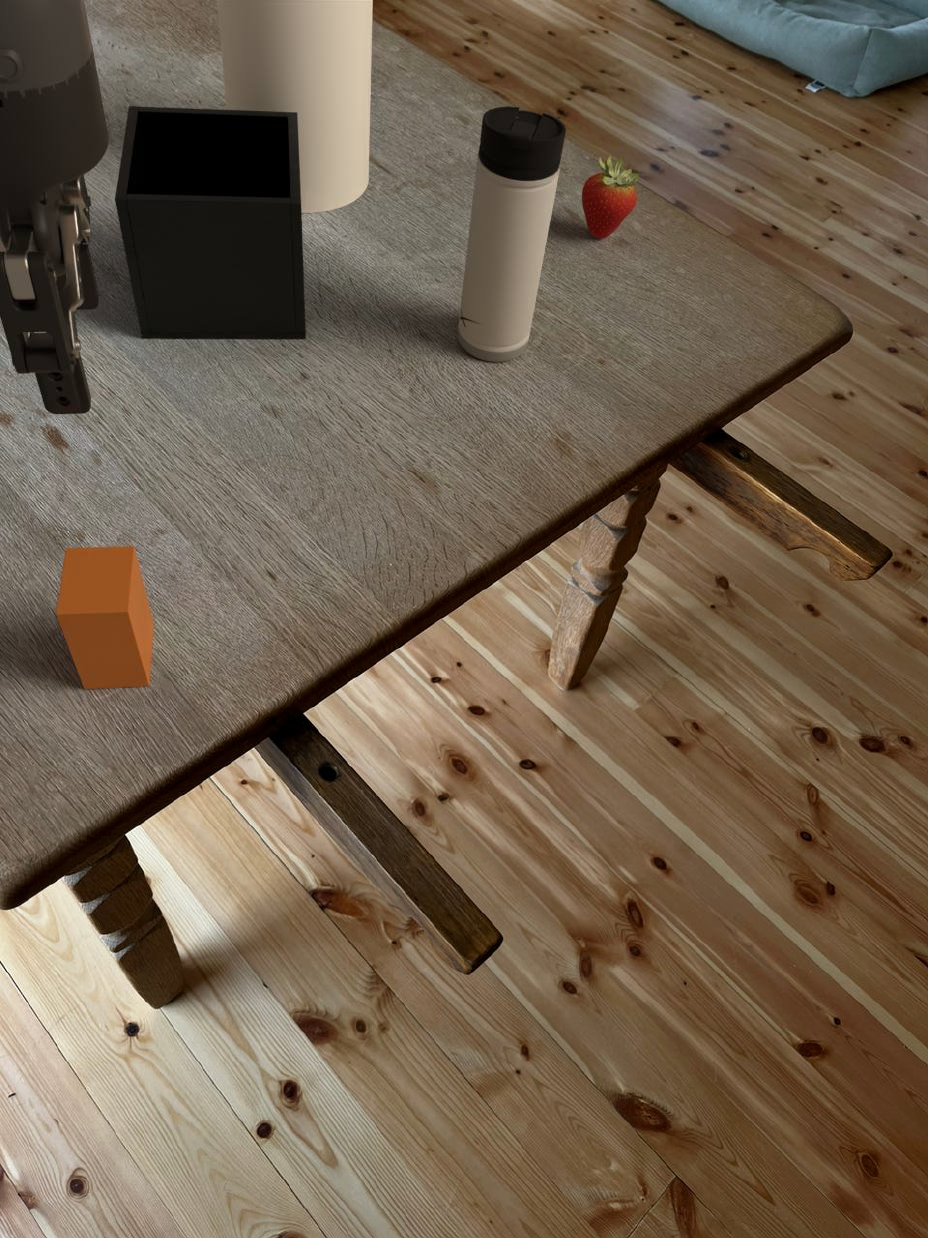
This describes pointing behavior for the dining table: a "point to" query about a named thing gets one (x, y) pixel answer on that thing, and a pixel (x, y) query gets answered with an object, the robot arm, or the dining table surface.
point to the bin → (213, 223)
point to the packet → (106, 617)
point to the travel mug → (508, 230)
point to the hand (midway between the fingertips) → (75, 355)
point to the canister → (307, 84)
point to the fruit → (608, 198)
